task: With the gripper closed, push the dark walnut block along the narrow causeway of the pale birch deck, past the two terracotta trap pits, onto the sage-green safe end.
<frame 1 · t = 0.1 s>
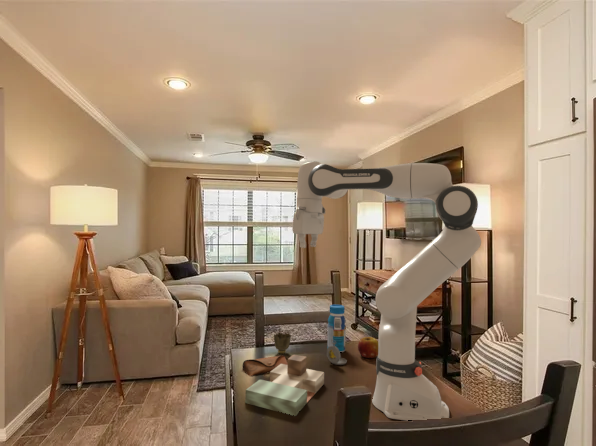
hand: (308, 247, 122), 48 cm above the table, tool pointing down, fingers open, 8 cm apart
beverage bottle: (336, 350, 156), on the table
walnut block: (296, 372, 121), point 4 cm above the table, touching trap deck
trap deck: (287, 392, 114), on the table
fruit: (368, 357, 149), on the table
sunglasses case: (267, 370, 133), on the table
pocket watch: (336, 363, 141), on the table
cup: (281, 353, 151), on the table
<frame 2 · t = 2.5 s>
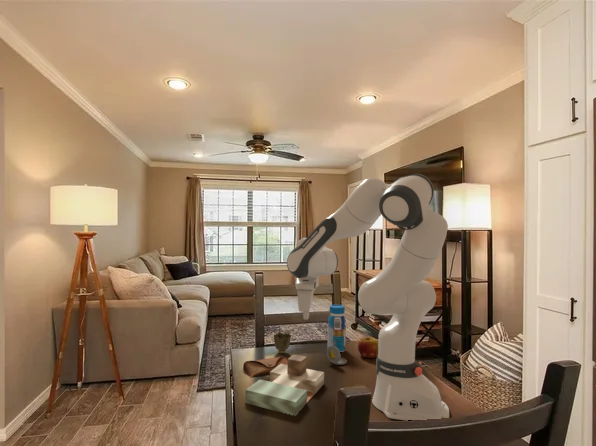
hand: (306, 318, 128), 21 cm above the table, tool pointing down, fingers closed
sunglasses case: (268, 371, 132), on the table
everything else where it was.
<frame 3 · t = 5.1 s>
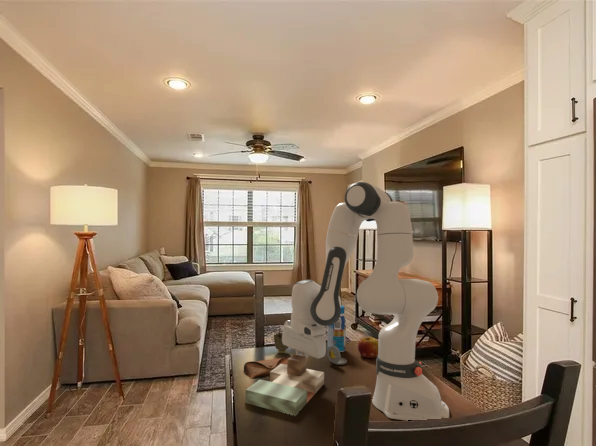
hand: (302, 363, 125), 6 cm above the table, tool pointing down, fingers closed
walnut block: (296, 372, 121), point 4 cm above the table, touching gripper, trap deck
sunglasses case: (269, 373, 131), on the table
everything else where it was.
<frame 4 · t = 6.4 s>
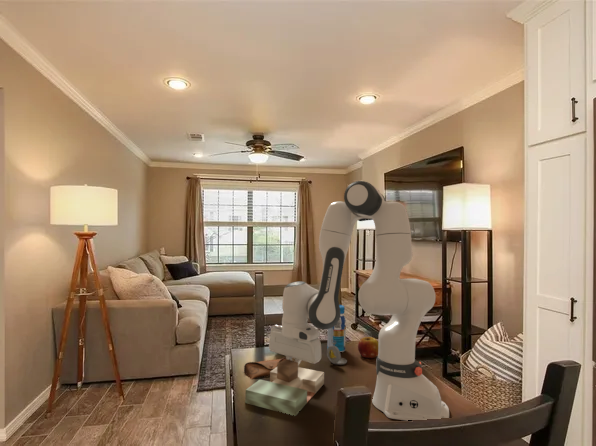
hand: (293, 369, 119), 6 cm above the table, tool pointing down, fingers closed, pressing on walnut block
walnut block: (287, 377, 116), point 4 cm above the table, touching gripper
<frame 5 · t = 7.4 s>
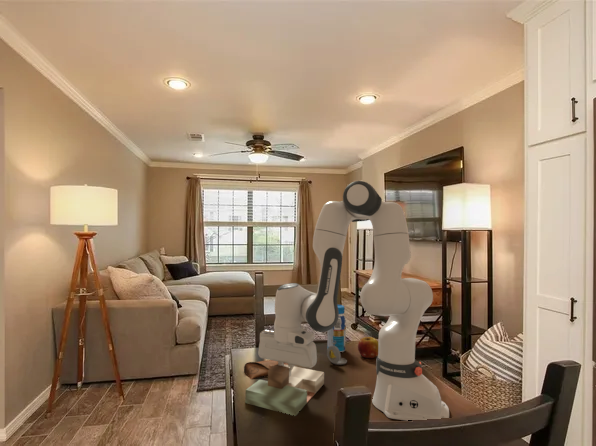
hand: (286, 375, 114), 6 cm above the table, tool pointing down, fingers closed, pressing on walnut block
walnut block: (278, 384, 111), point 4 cm above the table, touching gripper, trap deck
everything else where it was.
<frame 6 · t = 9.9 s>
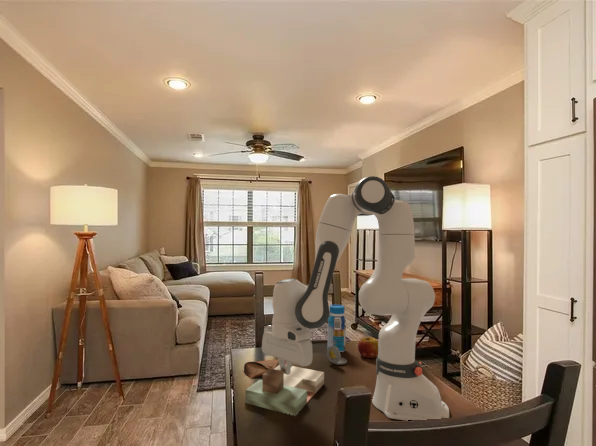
hand: (285, 373, 111), 8 cm above the table, tool pointing down, fingers closed
walnut block: (273, 388, 107), point 4 cm above the table, touching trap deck
everything else where it was.
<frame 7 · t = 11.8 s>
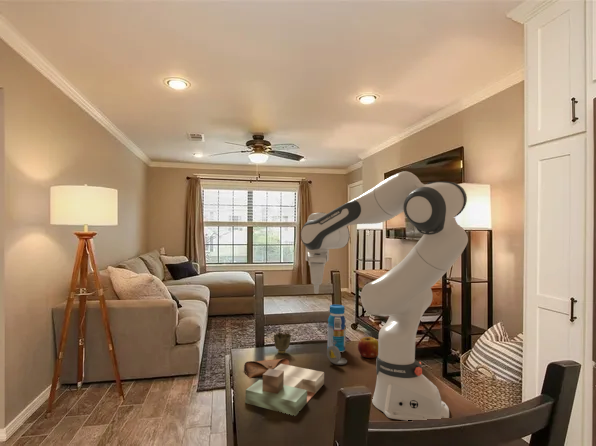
hand: (316, 293, 129), 30 cm above the table, tool pointing down, fingers closed
nothing on the table moved.
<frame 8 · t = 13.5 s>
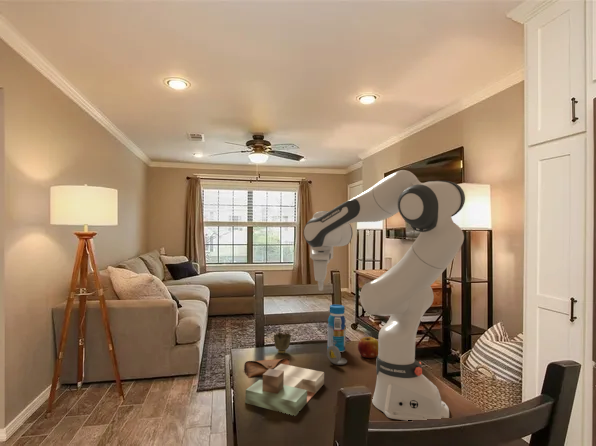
hand: (320, 290, 132), 31 cm above the table, tool pointing down, fingers closed
nothing on the table moved.
at the end: walnut block inside the target area (1.5 cm from its centre), point 4.0 cm above the table; walnut block tilted 0° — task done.
